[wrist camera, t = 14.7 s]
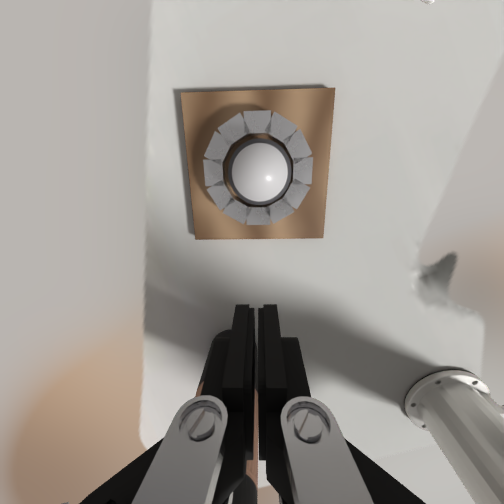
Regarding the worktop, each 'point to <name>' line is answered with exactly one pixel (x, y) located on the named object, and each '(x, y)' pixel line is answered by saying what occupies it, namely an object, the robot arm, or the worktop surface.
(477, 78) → the worktop surface
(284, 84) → the worktop surface
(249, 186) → the cap
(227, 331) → the travel mug
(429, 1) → the acanthus leaf ornament
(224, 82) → the worktop surface
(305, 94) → the board
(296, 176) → the grey segmented ring
